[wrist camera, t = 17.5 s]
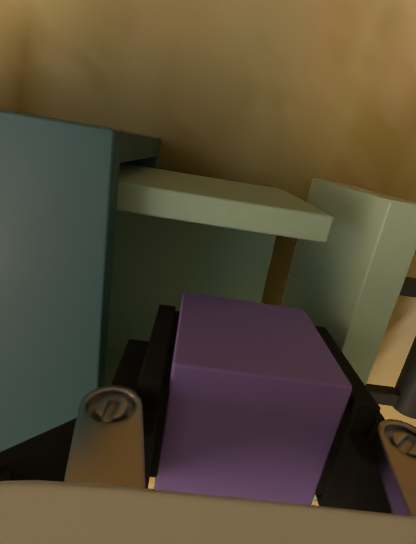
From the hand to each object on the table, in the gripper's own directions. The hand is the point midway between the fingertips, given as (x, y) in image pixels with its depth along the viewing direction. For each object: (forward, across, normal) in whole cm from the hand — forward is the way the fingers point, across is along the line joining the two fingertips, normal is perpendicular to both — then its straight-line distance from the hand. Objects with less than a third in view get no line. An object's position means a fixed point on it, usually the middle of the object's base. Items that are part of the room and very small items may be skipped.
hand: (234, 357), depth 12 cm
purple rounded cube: (0, 0, 0) cm, 0 cm away
